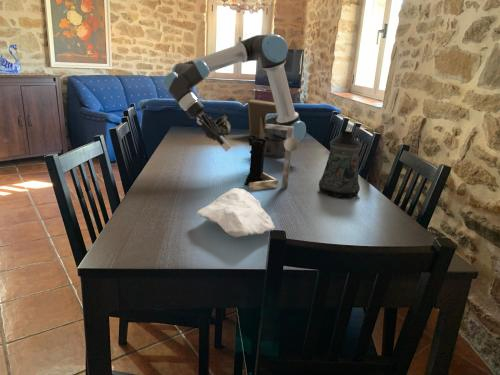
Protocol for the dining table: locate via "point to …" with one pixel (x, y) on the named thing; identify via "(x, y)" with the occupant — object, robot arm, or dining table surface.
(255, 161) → the chess piece
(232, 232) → the white rock
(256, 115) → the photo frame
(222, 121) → the hollow geode rock
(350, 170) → the beer stein
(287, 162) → the centring cradle
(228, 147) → the robot arm
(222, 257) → the dining table surface
